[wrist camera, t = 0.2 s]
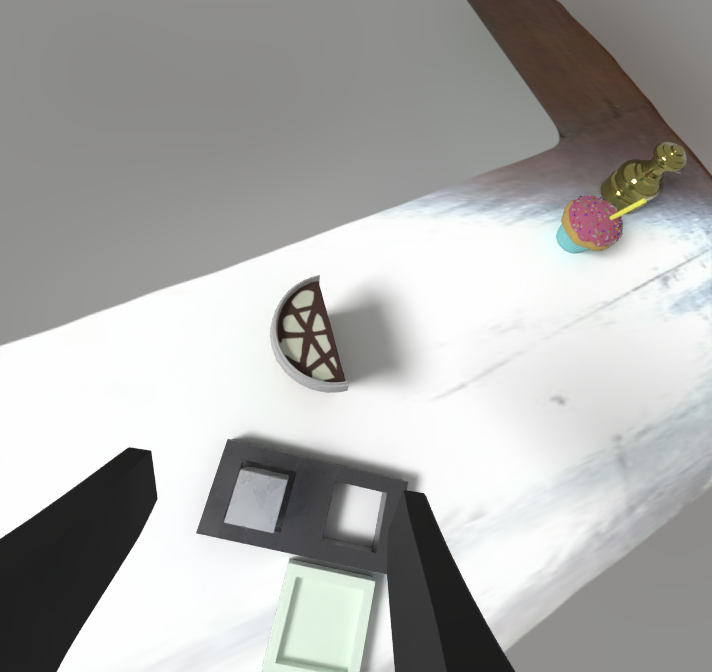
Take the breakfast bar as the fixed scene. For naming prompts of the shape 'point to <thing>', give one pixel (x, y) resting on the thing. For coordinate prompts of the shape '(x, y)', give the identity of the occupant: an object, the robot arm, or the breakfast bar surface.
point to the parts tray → (320, 620)
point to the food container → (307, 339)
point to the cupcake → (591, 224)
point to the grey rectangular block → (257, 499)
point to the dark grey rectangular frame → (301, 507)
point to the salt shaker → (642, 177)
